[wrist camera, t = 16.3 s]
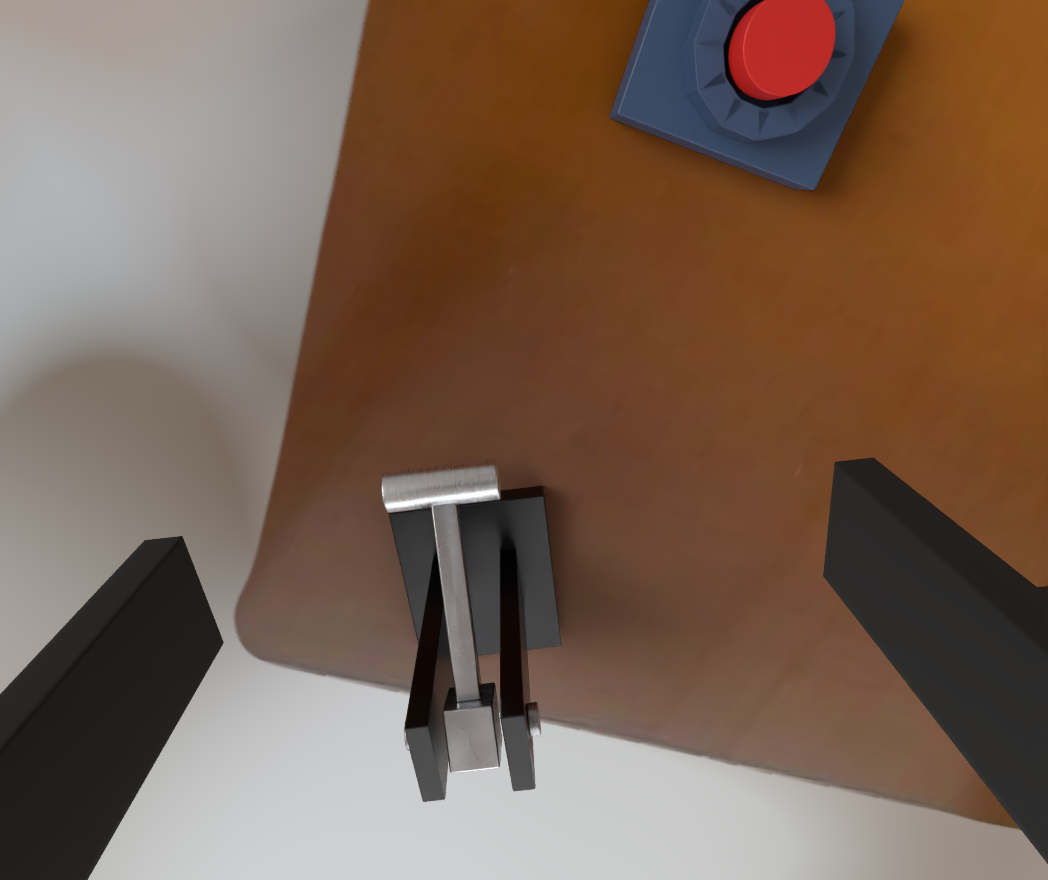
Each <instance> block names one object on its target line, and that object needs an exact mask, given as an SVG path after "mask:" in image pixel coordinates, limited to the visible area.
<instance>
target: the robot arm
mask: <svg viewBox="0 0 1048 880" xmlns="http://www.w3.org/2000/svg"><path fill="white" fill-rule="evenodd" d="M823 576H824V578H825V579H826V580H827V581H828V583H829V584H830V585H831V587H832V588H833V589H834V590H835V592H836V593H837V594H838V596H839V597H840V598H841V599H842V601H843V602H844V603H845V604H846V606H847V607H848V608H849V610H850V611H851V612H852V613H853V615H854V616H855V617H856V619H857V620H858V621H859V622H860V624H861V625H862V626H863V628H864V629H865V630H866V631H867V633H868V634H869V635H870V637H871V638H872V639H873V640H874V642H875V643H876V644H877V646H878V647H879V648H880V649H881V651H882V652H883V653H884V654H885V656H886V657H887V658H888V660H889V661H890V662H891V663H892V665H893V666H894V667H895V669H896V670H897V671H898V672H899V674H900V675H901V676H902V678H903V679H904V680H905V681H906V683H907V684H908V685H909V687H910V688H911V689H912V690H913V692H914V693H915V694H916V696H917V697H918V698H919V699H920V701H921V702H922V703H923V705H924V706H925V707H926V708H927V710H928V711H929V712H930V713H931V715H932V716H933V717H934V719H935V720H936V721H937V722H938V724H939V725H940V726H941V728H942V729H943V730H944V731H945V733H946V734H947V735H948V737H949V738H950V739H951V740H952V742H953V743H954V744H955V746H956V747H957V748H958V749H959V751H960V752H961V753H962V755H963V756H964V757H965V758H966V760H967V761H968V762H969V764H970V765H971V766H972V767H973V769H974V770H975V771H976V772H977V774H978V775H979V776H980V778H981V779H982V780H983V781H984V783H985V784H986V785H987V787H988V788H989V789H990V790H991V792H992V793H993V794H994V796H995V797H996V798H997V799H998V801H999V802H1000V803H1001V805H1002V806H1003V807H1004V808H1005V810H1006V811H1007V812H1008V814H1009V815H1010V816H1011V817H1012V819H1013V820H1014V821H1015V822H1016V824H1017V825H1018V826H1019V828H1020V829H1021V830H1022V831H1023V833H1024V834H1025V835H1026V837H1027V838H1028V839H1029V840H1030V842H1031V843H1032V844H1033V845H1034V847H1035V848H1036V849H1037V850H1038V852H1039V853H1040V855H1041V856H1042V857H1043V858H1044V859H1045V861H1046V862H1047V864H1048V586H1045V587H1036V586H1035V585H1033V584H1032V583H1031V582H1030V581H1028V580H1027V579H1026V578H1025V577H1023V576H1022V575H1021V574H1020V573H1018V572H1017V571H1016V570H1015V569H1013V568H1012V567H1011V566H1009V565H1008V564H1007V563H1006V562H1004V561H1003V560H1002V559H1001V558H999V557H998V556H997V555H996V554H994V553H993V552H992V551H991V550H989V549H988V548H987V547H986V546H984V545H983V544H982V543H980V542H979V541H978V540H977V539H975V538H974V537H973V536H972V535H970V534H969V533H968V532H967V531H965V530H964V529H963V528H962V527H960V526H959V525H958V524H957V523H955V522H954V521H953V520H951V519H950V518H949V517H948V516H946V515H945V514H944V513H943V512H941V511H940V510H939V509H938V508H936V507H935V506H934V505H933V504H931V503H930V502H929V501H928V500H926V499H925V498H924V497H922V496H921V495H920V494H919V493H917V492H916V491H915V490H914V489H912V488H911V487H910V486H909V485H907V484H906V483H905V482H904V481H902V480H901V479H900V478H899V477H897V476H896V475H895V474H893V473H892V472H891V471H890V470H888V469H887V468H886V467H885V466H883V465H882V464H881V463H880V462H878V461H877V460H876V459H875V458H866V459H857V460H848V461H839V462H835V465H834V475H833V485H832V495H831V505H830V515H829V525H828V534H827V544H826V554H825V564H824V574H823ZM223 643H224V642H223V640H222V637H221V635H220V632H219V629H218V627H217V624H216V622H215V619H214V616H213V614H212V611H211V609H210V606H209V604H208V601H207V598H206V596H205V593H204V591H203V588H202V586H201V583H200V580H199V578H198V575H197V573H196V570H195V568H194V565H193V562H192V560H191V557H190V555H189V552H188V549H187V547H186V544H185V542H184V539H183V537H182V536H179V537H171V538H161V539H152V540H145V541H144V542H143V543H142V544H141V545H140V546H139V547H138V548H137V549H136V550H135V551H134V552H133V553H132V554H131V555H130V557H129V558H128V559H127V560H126V561H125V562H124V563H123V564H122V565H121V566H120V567H119V568H118V569H117V570H116V571H115V573H114V574H113V575H112V576H111V577H110V578H109V579H108V580H107V581H106V582H105V583H104V584H103V585H102V586H101V588H100V589H99V590H98V591H97V592H96V593H95V594H94V595H93V596H92V597H91V598H90V599H89V600H88V602H86V603H85V605H84V606H83V607H82V608H81V609H80V610H79V611H78V612H77V613H76V614H75V615H74V616H73V617H72V618H71V619H70V620H69V622H68V623H67V624H66V625H65V626H64V627H63V628H62V629H61V630H60V631H59V632H58V633H57V634H56V636H55V637H54V638H53V639H52V640H51V641H50V642H49V643H48V644H47V645H46V646H45V647H44V648H43V649H42V650H41V651H40V652H39V654H38V655H37V656H36V657H35V658H34V659H33V660H32V661H31V662H30V663H29V664H28V665H27V666H26V668H25V669H24V670H23V671H22V672H21V673H20V674H19V675H18V676H17V677H16V678H15V679H14V680H13V681H12V682H11V683H10V684H9V686H8V687H7V688H6V689H5V690H4V691H3V692H2V693H1V694H0V880H88V878H89V876H90V874H91V873H92V871H93V869H94V867H95V866H96V864H97V862H98V860H99V859H100V857H101V855H102V854H103V852H104V850H105V848H106V847H107V845H108V843H109V841H110V840H111V838H112V836H113V834H114V833H115V831H116V829H117V827H118V826H119V824H120V822H121V821H122V819H123V817H124V815H125V814H126V812H127V810H128V808H129V807H130V805H131V803H132V801H133V800H134V798H135V796H136V794H137V793H138V791H139V789H140V788H141V786H142V784H143V782H144V781H145V779H146V777H147V775H148V774H149V772H150V770H151V768H152V767H153V765H154V763H155V761H156V760H157V758H158V756H159V754H160V753H161V751H162V749H163V747H164V746H165V744H166V742H167V740H168V739H169V737H170V735H171V734H172V732H173V730H174V728H175V726H176V725H177V723H178V721H179V720H180V718H181V716H182V714H183V713H184V711H185V709H186V707H187V706H188V704H189V702H190V700H191V699H192V697H193V695H194V694H195V692H196V690H197V688H198V687H199V685H200V683H201V681H202V680H203V678H204V676H205V674H206V672H207V671H208V669H209V667H210V666H211V664H212V662H213V660H214V659H215V657H216V655H217V653H218V652H219V650H220V648H221V646H222V645H223Z"/></svg>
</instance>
